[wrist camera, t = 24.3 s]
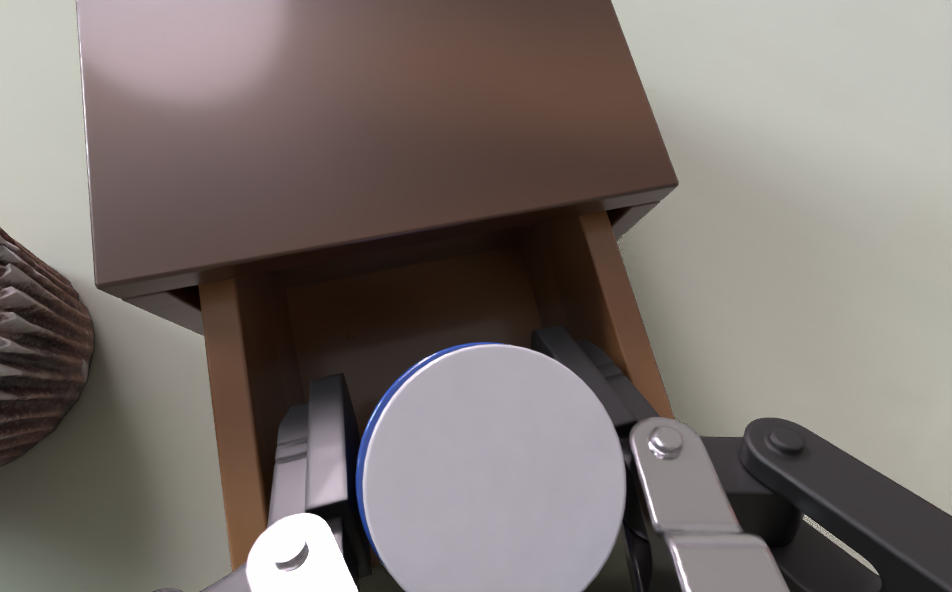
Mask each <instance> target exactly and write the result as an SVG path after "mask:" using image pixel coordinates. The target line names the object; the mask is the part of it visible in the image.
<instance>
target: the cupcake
mask: <svg viewBox="0 0 952 592" xmlns="http://www.w3.org/2000/svg"><path fill="white" fill-rule="evenodd" d="M93 350H94V333H93V327H92V321H91V318H90V315H89V312H88V310H87V308H86V307H85V306H84V305H83V304H82V303H80V302H79V296H78V293H77V292H76V291H75V290H74V289H73V288H72V286H71V283H70V282H69V281H68V280H67V279H66V278H65V277H63V276H62V275H61V274H59V273H58V272H57V271H55V270H54V269H53V268H51V267H50V266H48V265H47V264H46V263H44V262H43V261H42V260H40V259H39V258H37V257H36V256H35V255H34V254H32V253H31V252H30V251H29V250H27V249H26V248H25V247H24V246H22V245H21V244H19V243H18V242H17V241H15V240H14V239H12V238H11V237H10V236H9V235H8V234H7V233H6V232H5V231H4V230H3V229H2V228H0V466H3V465H5V464H8V463H10V462H12V461H13V460H15V459H17V458H18V457H20V456H22V455H23V454H25V453H26V452H27V451H28V450H30V449H31V448H32V447H33V446H35V445H36V444H37V443H38V442H40V441H41V440H42V439H44V438H45V437H46V436H48V435H49V434H50V433H51V432H53V431H54V430H55V429H56V427H57V426H58V424H59V423H60V421H61V420H62V418H63V417H64V416H65V415H66V414H67V412H68V411H69V410H70V409H71V408H72V406H73V405H74V404H75V403H76V402H77V400H78V397H79V394H80V392H81V390H82V388H83V387H84V385H85V383H86V382H87V377H88V371H89V364H90V358H91V355H92V353H93Z"/></svg>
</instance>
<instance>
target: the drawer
mask: <svg viewBox="0 0 952 592" xmlns="http://www.w3.org/2000/svg"><path fill="white" fill-rule="evenodd" d="M198 287H199V296H200V304H201V313H202V321H203V330H204V338H205V347H206V355H207V364H208V372H209V381H210V389H211V397H212V406H213V414H214V423H215V431H216V440H217V448H218V457H219V465H220V474H221V482H222V491H223V499H224V507H225V516H226V524H227V533H228V541H229V550H230V558H231V567H232V572H233V571H235V570H236V569H237V568H239V567H240V566H241V565H242V564H244V563H245V562H246V561H247V559H248V555H249V553H250V551H251V548H252V547H253V545H254V543H255V542H256V540H257V539H258V538H259V537H260V535H261V534H262V533H263V532H264V531H265V530H267V525H268V518H269V509H270V500H271V492H272V483H273V475H274V466H275V464H276V461H275V457H276V449H277V448H278V446H277V440H278V432H279V425H280V423H281V422H282V420H283V418H284V417H285V415H286V414H287V412H288V410H289V409H290V407H292V406H297V405H301V404H305V403H309V395H310V381H311V380H312V379H316V378H321V377H325V376H330V375H334V374H339V373H343V374H344V376H345V379H346V383H347V387H348V390H349V394H350V397H351V401H352V405H353V408H354V412H355V416H356V419H357V423H358V428H359V433H360V440H361V439H362V436H363V434H364V431H365V428H366V425H367V423H368V421H369V419H370V417H371V415H372V413H373V411H374V409H375V407H376V405H377V404H378V402H379V401H380V399H381V398H382V396H383V395H384V394H385V392H386V391H387V390H388V389H389V387H390V386H391V385H392V384H393V383H394V382H395V381H396V380H397V379H398V378H399V377H400V376H401V375H402V374H403V373H404V372H406V371H407V370H408V369H409V368H410V367H412V366H413V365H415V364H416V363H418V362H419V361H421V360H422V359H424V358H426V357H428V356H430V355H432V354H434V353H436V352H438V351H440V350H443V349H446V348H449V347H452V346H456V345H461V344H466V343H475V342H495V343H504V344H509V345H514V346H519V347H524V348H528V349H531V333H532V331H533V330H538V329H542V328H547V327H551V326H556V325H563V326H564V327H565V329H566V330H567V331H568V332H569V334H570V335H571V336H572V337H573V339H574V340H575V341H579V340H583V339H586V340H588V341H589V342H591V343H593V344H595V345H597V346H598V347H600V348H602V349H603V350H604V351H605V352H606V353H607V355H608V356H609V357H610V358H611V359H612V360H613V362H614V365H617V366H618V367H619V369H620V370H621V371H622V372H623V375H624V376H626V377H627V378H628V379H629V380H630V381H631V383H632V384H633V385H634V386H635V387H636V388H637V390H638V391H639V392H640V393H641V394H642V395H643V397H644V398H645V399H646V400H647V401H648V402H649V404H650V405H651V406H652V407H653V408H654V409H655V411H656V412H657V413H658V414H659V415H660V416H661V417H664V418H670V419H673V420H675V418H674V415H673V412H672V409H671V406H670V403H669V400H668V397H667V394H666V391H665V388H664V385H663V382H662V379H661V376H660V373H659V370H658V367H657V364H656V361H655V358H654V355H653V352H652V349H651V346H650V343H649V340H648V336H647V333H646V330H645V327H644V324H643V321H642V318H641V315H640V312H639V309H638V306H637V303H636V300H635V297H634V294H633V291H632V288H631V285H630V282H629V279H628V276H627V273H626V270H625V267H624V264H623V261H622V258H621V255H620V251H619V248H618V245H617V242H616V239H615V236H614V233H613V230H612V227H611V224H610V221H609V218H608V215H607V212H606V211H600V212H595V213H589V214H584V215H578V216H573V217H567V218H562V219H556V220H551V221H545V222H540V223H534V224H529V225H523V226H518V227H512V228H507V229H501V230H496V231H490V232H485V233H479V234H474V235H468V236H463V237H457V238H452V239H446V240H441V241H435V242H430V243H424V244H419V245H413V246H408V247H402V248H397V249H391V250H386V251H380V252H375V253H369V254H364V255H358V256H353V257H347V258H342V259H336V260H331V261H325V262H320V263H314V264H309V265H303V266H298V267H292V268H287V269H281V270H276V271H270V272H265V273H260V274H254V275H249V276H243V277H238V278H232V279H227V280H221V281H216V282H210V283H205V284H199V285H198ZM370 555H371V567H375V566H378V565H381V562H380V561H379V559H378V557H377V556H376V554H375V552H374V551H373V549H372V547H371V545H370ZM583 592H633V590H632V585H631V580H630V576H629V571H628V566H627V562H626V557H625V552H624V547H623V543H622V538H621V533H620V531H619V534H618V537H617V540H616V543H615V545H614V547H613V550H612V552H611V554H610V556H609V558H608V560H607V562H606V563H605V565H604V566H603V568H602V569H601V571H600V572H599V574H598V575H597V577H596V578H595V579H594V580H593V581H592V583H591V584H590V585H589V586H588V587H587V589H586V590H584V591H583Z"/></svg>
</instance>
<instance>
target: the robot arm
mask: <svg viewBox="0 0 952 592" xmlns="http://www.w3.org/2000/svg"><path fill="white" fill-rule="evenodd" d="M531 350H534V351H537V352H540V353H542V354H544V355H546V356H549V357H551V358H553V359H555V360H557V361H558V362H560V363H561V364H563V365H564V366H566V367H567V368H569V369H570V370H571V371H572V372H574V373H575V374H576V375H577V376H578V377H580V378H581V379H582V380H583V381H584V382H585V383H586V384H587V386H588V387H589V388H590V389H591V390H592V391H593V392H594V393H595V395H596V396H597V398H598V399H599V400H600V402H601V403H602V405H603V406H604V408H605V410H606V411H607V413H608V415H609V417H610V419H611V420H612V423H613V425H614V428H615V430H616V433H617V435H618V438H619V442H620V445H621V449H622V452H623V457H624V464H625V470H626V501H625V510H624V515H623V520H622V525H621V528H620V533H621V538H622V543H623V547H624V552H625V557H626V562H627V566H628V571H629V576H630V580H631V585H632V590H633V592H952V516H951V515H949V514H947V513H946V512H944V511H942V510H941V509H939V508H937V507H936V506H934V505H932V504H931V503H929V502H928V501H926V500H924V499H923V498H921V497H919V496H918V495H916V494H914V493H913V492H911V491H909V490H908V489H906V488H904V487H903V486H901V485H899V484H898V483H896V482H894V481H893V480H891V479H889V478H888V477H886V476H884V475H883V474H881V473H879V472H878V471H876V470H874V469H873V468H871V467H869V466H868V465H866V464H864V463H863V462H861V461H859V460H858V459H856V458H854V457H853V456H851V455H849V454H848V453H846V452H844V451H843V450H841V449H839V448H838V447H836V446H834V445H833V444H831V443H829V442H828V441H826V440H824V439H823V438H821V437H819V436H818V435H816V434H814V433H813V432H811V431H809V430H808V429H806V428H804V427H802V426H801V425H798V424H796V423H794V422H791V421H788V420H784V419H779V418H760V419H756V420H754V421H752V422H751V423H749V424H748V426H747V427H746V429H745V433H744V436H743V437H702V436H698V435H697V433H696V432H695V431H694V430H692V429H691V428H690V427H688V426H687V425H685V424H683V423H681V422H679V421H676V420H673V419H670V418H664V417H661V416H660V415H659V414H658V413H657V412H656V411H655V409H654V408H653V407H652V406H651V405H650V404H649V402H648V401H647V400H646V399H645V398H644V397H643V395H642V394H641V393H640V392H639V391H638V390H637V388H636V387H635V386H634V385H633V384H632V383H631V381H630V380H629V379H628V378H627V377H626V376H624V375H623V372H622V371H621V370H620V369H619V367H618V366H617V365H614V362H613V360H612V359H611V358H610V357H609V356H608V355H607V353H606V352H605V351H604V350H603V349H602V348H600V347H598V346H597V345H595V344H593V343H591V342H589V341H588V340H586V339H583V340H579V341H575V340H574V339H573V337H572V336H571V335H570V334H569V332H568V331H567V330H566V329H565V327H564V326H563V325H556V326H551V327H547V328H542V329H538V330H533V331H532V333H531ZM360 444H361V440H360V433H359V428H358V423H357V419H356V416H355V412H354V408H353V405H352V401H351V397H350V394H349V390H348V387H347V383H346V379H345V376H344V374H343V373H339V374H334V375H330V376H325V377H321V378H316V379H312V380H311V381H310V395H309V403H305V404H301V405H297V406H292V407H290V409H289V410H288V412H287V414H286V415H285V417H284V418H283V420H282V422H281V423H280V425H279V432H278V440H277V446H278V448H277V449H276V457H275V461H276V464H275V466H274V475H273V483H272V492H271V500H270V509H269V518H268V525H267V530H265V531H264V532H263V533H262V534H261V535H260V537H259V538H258V539H257V540H256V542H255V543H254V545H253V547H252V548H251V551H250V553H249V555H248V559H247V561H246V562H245V563H244V564H242V565H241V566H240V567H239V568H237V569H236V570H235V571H233V572H232V573H230V574H229V575H227V576H226V577H224V578H222V579H221V580H219V581H217V582H215V583H214V584H212V585H210V586H209V587H207V588H205V589H203V590H202V591H200V592H360V588H359V578H363V577H366V576H369V575H372V567H371V555H370V543H369V540H368V538H367V536H366V534H365V531H364V528H363V525H362V521H361V518H360V514H359V509H358V503H357V496H356V467H357V457H358V452H359V448H360ZM804 514H806V515H807V516H808V517H810V518H811V519H812V520H814V521H815V522H816V523H818V524H819V525H820V526H822V527H823V528H825V529H826V530H827V531H829V532H830V533H831V534H833V535H834V536H835V537H837V538H838V539H840V540H841V541H842V542H844V543H845V544H846V545H848V546H849V547H850V548H852V549H853V550H854V551H856V552H857V553H859V554H860V555H861V556H863V557H864V558H865V559H866V560H868V561H869V562H870V563H871V564H872V565H873V567H874V568H875V569H876V570H877V572H878V574H879V575H880V576H879V575H877V574H875V573H874V572H872V571H871V570H870V569H868V568H867V567H866V566H864V565H863V564H861V563H860V562H859V561H857V560H856V559H855V558H853V557H852V556H851V555H849V554H848V553H847V552H845V551H844V550H843V549H841V548H840V547H839V546H837V545H836V544H835V543H833V542H832V541H831V540H829V539H828V538H827V537H825V536H824V535H823V534H821V533H820V532H819V531H817V530H816V529H815V528H813V527H812V526H811V525H809V524H808V523H807V522H805V521H804V520H803V517H804ZM153 592H183V591H181V590H178V589H172V588H166V589H160V590H156V591H153Z"/></svg>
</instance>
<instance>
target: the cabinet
mask: <svg viewBox="0 0 952 592" xmlns="http://www.w3.org/2000/svg"><path fill="white" fill-rule="evenodd" d="M76 11H77V26H78V40H79V55H80V70H81V85H82V99H83V114H84V129H85V144H86V158H87V173H88V188H89V203H90V217H91V232H92V247H93V262H94V276H95V285H96V287H97V289H100V290H102V291H104V292H106V293H109V294H111V295H113V296H115V297H118V298H121V299H122V300H123V301H125V302H127V303H130V304H132V305H134V306H136V307H139V308H141V309H143V310H146V311H148V312H150V313H153V314H155V315H157V316H159V317H162V318H164V319H166V320H169V321H171V322H173V323H175V324H178V325H180V326H182V327H185V328H187V329H189V330H192V331H194V332H196V333H198V334H201V335H203V336H204V330H203V321H202V313H201V304H200V296H199V287H198V285H199V284H205V283H210V282H216V281H221V280H227V279H232V278H238V277H243V276H249V275H254V274H260V273H265V272H270V271H276V270H281V269H287V268H292V267H298V266H303V265H309V264H314V263H320V262H325V261H331V260H336V259H342V258H347V257H353V256H358V255H364V254H369V253H375V252H380V251H386V250H391V249H397V248H402V247H408V246H413V245H419V244H424V243H430V242H435V241H441V240H446V239H452V238H457V237H463V236H468V235H474V234H479V233H485V232H490V231H496V230H501V229H507V228H512V227H518V226H523V225H529V224H534V223H540V222H545V221H551V220H556V219H562V218H567V217H573V216H578V215H584V214H589V213H595V212H600V211H606V212H607V215H608V218H609V221H610V224H611V227H612V230H613V233H614V236H615V239H616V241H617V240H618V239H619V238H620V237H621V236H622V235H624V234H625V233H626V232H627V231H628V230H629V229H630V228H631V227H633V226H634V225H635V224H636V223H637V222H638V221H639V220H640V219H641V218H643V217H644V216H645V215H646V214H647V213H648V212H649V211H650V210H652V209H653V208H654V207H655V206H656V205H657V204H658V203H659V202H660V201H661V200H662V199H664V198H665V197H666V196H667V195H668V194H669V193H670V192H672V191H673V190H674V189H675V188H676V187H677V186H678V180H677V177H676V174H675V171H674V169H673V166H672V163H671V161H670V158H669V155H668V153H667V150H666V147H665V145H664V142H663V139H662V136H661V134H660V131H659V128H658V126H657V123H656V120H655V118H654V115H653V112H652V110H651V107H650V104H649V101H648V99H647V96H646V93H645V91H644V88H643V85H642V83H641V80H640V77H639V75H638V72H637V69H636V66H635V64H634V61H633V58H632V56H631V53H630V50H629V48H628V45H627V42H626V40H625V37H624V34H623V31H622V29H621V26H620V23H619V21H618V18H617V15H616V13H615V10H614V7H613V5H612V2H611V0H76Z"/></svg>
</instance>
